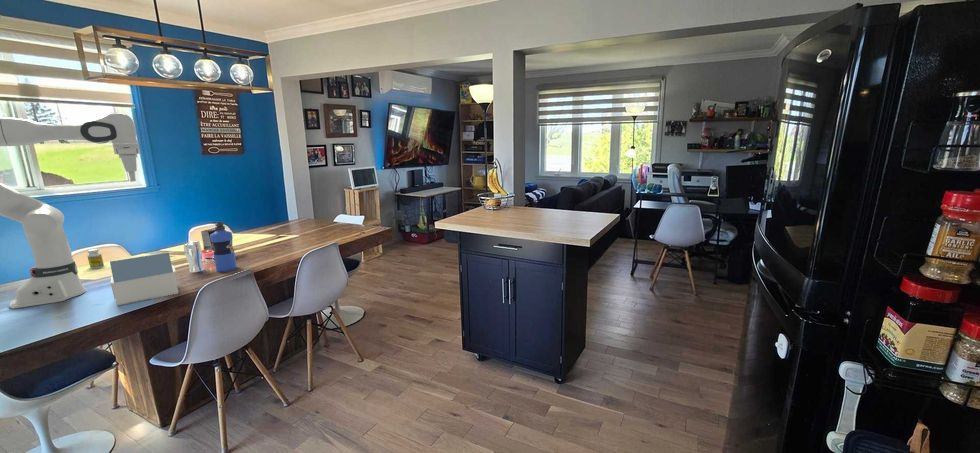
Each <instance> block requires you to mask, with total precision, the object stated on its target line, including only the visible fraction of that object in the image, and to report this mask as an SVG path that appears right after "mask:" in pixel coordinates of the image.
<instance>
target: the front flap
mask: <svg viewBox="0 0 980 453" xmlns="http://www.w3.org/2000/svg"><path fill="white" fill-rule="evenodd" d="M170 255H171V254H170V252H161V253H156V254H150V255H149V254H148V255H143V256H138V257H136V256H135V257H131V258H125V259H124V258H123V259H118V260H111V261H109V263H110V268H111V276H113V281H114V283H116V282H121V281H127V280H132V279H138V278H143V277H149V276H154V275H160V274H165V273H171V272H173V269H172V265H173V264H172V261H171V256H170Z"/></svg>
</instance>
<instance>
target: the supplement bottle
mask: <svg viewBox="0 0 980 453" xmlns="http://www.w3.org/2000/svg"><path fill="white" fill-rule="evenodd" d="M87 253H88V254H87V260H88V264H89V267H90V269H99V268H102V267H104V266H105V264H104V260H103V256H102V255H103V254H102V253H101V252H99V248H92V249H88V250H87Z"/></svg>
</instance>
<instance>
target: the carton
mask: <svg viewBox="0 0 980 453" xmlns="http://www.w3.org/2000/svg"><path fill="white" fill-rule="evenodd" d="M172 269H173V272H171V273H165V274H160V275H154V276H149V277H143V278H138V279H132V280H127V281H121V282H116V283H114V281H113V276H112V275H111V276H110V286H111V292H112V295H113V298H114V300H115V301H116V305H117V307H120V306H121V307H122V306H126V305H130V304H136V303H139V302H145V301H149V300H156V299H158V298H159V297H160V298H164V296H165V297H168V295H169V296H173V294H174V295H178V293H180V292H179V281H178V277H177V276H178V275H177V271H176V268H175V266H174V264H172Z"/></svg>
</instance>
